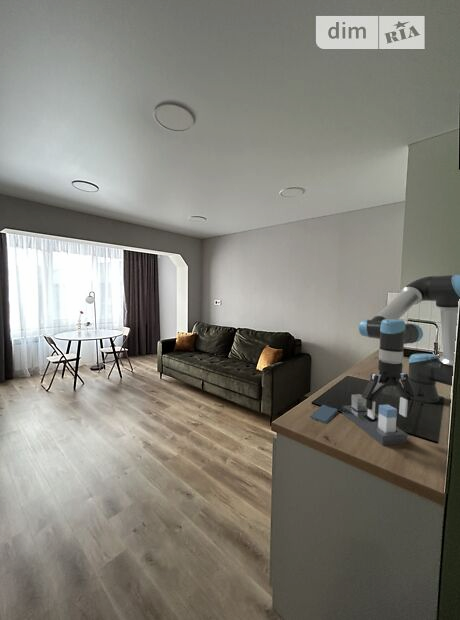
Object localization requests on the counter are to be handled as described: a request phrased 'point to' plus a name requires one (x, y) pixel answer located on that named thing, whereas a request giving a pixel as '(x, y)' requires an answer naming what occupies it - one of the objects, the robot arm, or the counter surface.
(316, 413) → the smartphone
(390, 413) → the plug
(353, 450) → the counter surface
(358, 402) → the slotted peg board
